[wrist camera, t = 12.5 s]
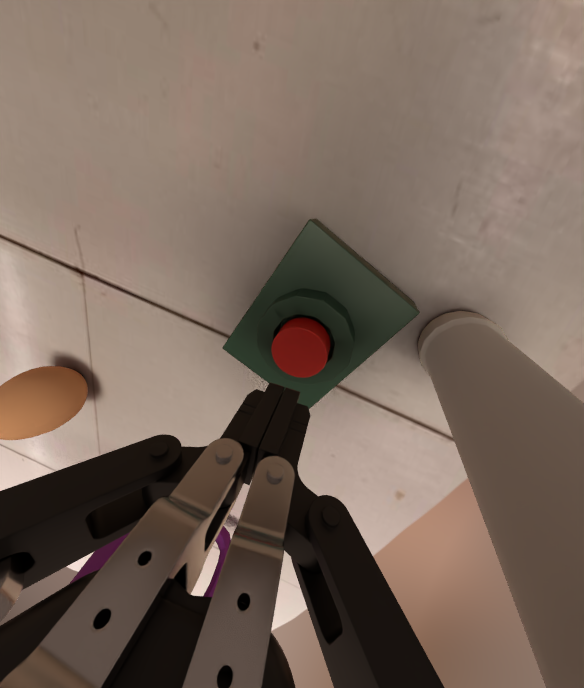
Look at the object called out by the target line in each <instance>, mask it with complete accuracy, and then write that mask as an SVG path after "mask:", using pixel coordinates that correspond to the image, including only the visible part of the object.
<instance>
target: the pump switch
mask: <svg viewBox="0 0 584 688" xmlns="http://www.w3.org/2000/svg"><path fill="white" fill-rule="evenodd" d="M419 313H420V312H419V310H418V309H417V307H416V305H415V303H414V302H413V301H412V300H411V299H410V298H408V297H407V296H406V295H405V294H404V293H403V292H401V291H400V290H399V289H398V288H397V287H396V286H394V285H393V284H392V283H391V282H390V281H389V280H387V279H386V278H385V277H384V276H383V275H382V274H380V273H379V272H378V271H377V270H376V269H374V268H373V267H372V266H371V265H370V264H369V263H367V262H366V261H365V260H364V259H363V258H362V257H360V256H359V255H358V254H357V253H356V252H355V251H353V250H352V249H351V248H350V247H349V246H348V245H346V244H345V243H344V242H343V241H342V240H341V239H339V238H338V237H337V236H336V235H335V234H333V233H332V232H331V231H330V230H329V229H328V228H326V227H325V226H324V225H323V224H322V223H321V222H319V221H318V220H317V219H310V220H309V221H308V222H307V224H306V225H305V227H304V228H303V230H302V231H301V233H300V234H299V236H298V237H297V239H296V240H295V242H294V243H293V245H292V246H291V247H290V249H289V250H288V252H287V253H286V255H285V256H284V258H283V259H282V261H281V262H280V264H279V265H278V267H277V268H276V270H275V271H274V273H273V274H272V276H271V277H270V278H269V280H268V281H267V283H266V284H265V286H264V287H263V289H262V290H261V292H260V293H259V295H258V296H257V298H256V299H255V301H254V302H253V304H252V305H251V306H250V308H249V309H248V311H247V312H246V314H245V315H244V317H243V318H242V320H241V321H240V323H239V324H238V326H237V327H236V329H235V330H234V332H233V333H232V335H231V336H230V337H229V339H228V340H227V342H226V343H225V345H224V346H223V349H224V350H225V351H227V352H228V353H229V354H231V355H232V356H233V357H235V358H236V359H237V360H239V361H240V362H241V363H243V364H244V365H245V366H247V367H248V368H249V369H251V370H252V371H253V372H255V373H256V374H257V375H259V376H260V377H261V378H263V379H264V380H265V381H267V382H268V383H270V382H271V383H274V384H277V385H280V386H283V387H285V388H290V389H293V390H296V391H299V392H300V396H299V399H298V403H299V404H302V405H305V406H308V409H310V408H311V407H312V406H313V405H314V404H315V403H316V402H318V401H319V400H320V399H321V398H322V397H323V396H325V395H326V394H327V393H328V392H329V391H330V390H331V389H333V388H334V387H335V386H336V385H337V384H338V383H340V382H341V381H342V380H343V379H344V378H345V377H346V376H348V375H349V374H350V373H351V372H352V371H353V370H355V369H356V368H357V367H358V366H359V365H360V364H361V363H363V362H364V361H365V360H366V359H367V358H368V357H370V356H371V355H372V354H373V353H374V352H375V351H376V350H378V349H379V348H380V347H381V346H382V345H383V344H385V343H386V342H387V341H388V340H389V339H390V338H391V337H393V336H394V335H395V334H396V333H397V332H398V331H400V330H401V329H402V328H403V327H404V326H405V325H406V324H408V323H409V322H410V321H411V320H412V319H413V318H415V317H416V316H417V315H418V314H419ZM300 317H304V318H309V319H312V320H315V321H317V322H318V323H320V324H321V325H322V326H323V327H324V328H325V329H326V331H327V333H328V335H329V338H330V350H329V354H328V358H327V362H326V364H325V366H324V368H323V369H322V370H321V371H320V372H319V373H317V374H316V375H313V376H310V377H305V378H301V377H295V376H291V375H289V374H287V373H285V372H284V371H282V370H281V369H280V368H279V367H278V366H277V364H276V363H275V361H274V359H273V356H272V351H271V347H272V343H273V340H274V338H275V337H276V335H277V334H278V332H279V331H280V329H281V328H282V326H283V325H284V324H285V323H286V322H288V321H290V320H292V319H294V318H300Z"/></svg>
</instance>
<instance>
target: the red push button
mask: <svg viewBox="0 0 584 688" xmlns="http://www.w3.org/2000/svg"><path fill="white" fill-rule="evenodd" d="M329 350H330V338H329V335H328V333H327V331H326V329H325V328H324V327H323V326H322V325H321V324H320V323H318V322H317V321H315V320H312V319H309V318H304V317H300V318H294V319H292V320H290V321H288V322H286V323H285V324H284V325H283V326H282V328H281V329H280V331H279V332H278V334H277V335H276V337H275V338H274V340H273V343H272V347H271V351H272V356H273V359H274V361H275V363H276V364H277V366H278V367H279V368H280V369H281V370H282V371H284V372H285V373H287V374H289V375H291V376H295V377H301V378H305V377H310V376H313V375H316V374H317V373H319V372H320V371H321V370H322V369H323V368H324V366H325V364H326V362H327V358H328V354H329Z"/></svg>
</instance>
